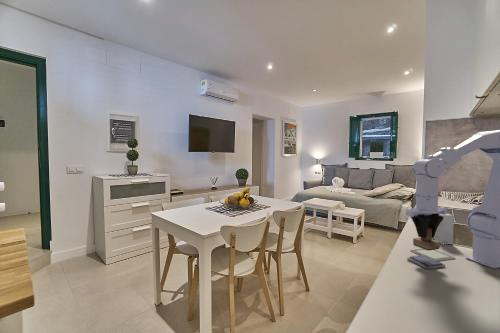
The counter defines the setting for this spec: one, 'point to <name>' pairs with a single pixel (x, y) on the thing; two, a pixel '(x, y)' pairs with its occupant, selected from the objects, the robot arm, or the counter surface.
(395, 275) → the counter surface
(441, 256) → the pale green flat square
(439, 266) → the ink pad
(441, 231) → the skincare box
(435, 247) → the stamp
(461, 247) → the counter surface
